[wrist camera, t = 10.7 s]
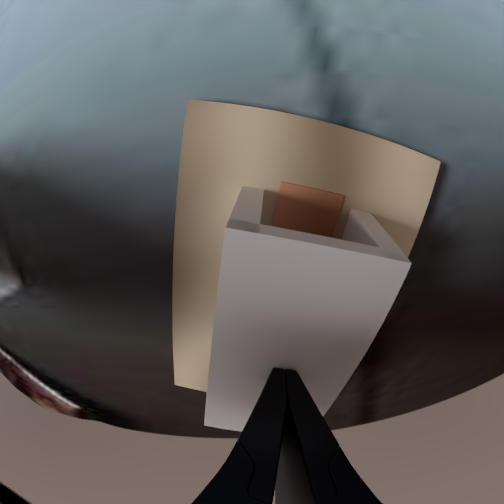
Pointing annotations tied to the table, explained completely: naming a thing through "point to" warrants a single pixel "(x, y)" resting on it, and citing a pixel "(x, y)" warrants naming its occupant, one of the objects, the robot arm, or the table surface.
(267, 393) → the robot arm
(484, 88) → the table surface
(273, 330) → the plug housing
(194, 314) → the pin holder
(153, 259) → the table surface
